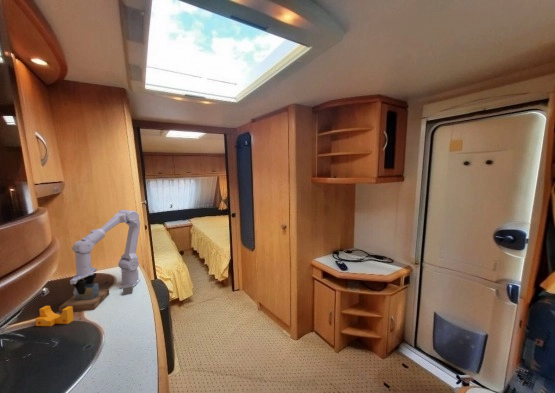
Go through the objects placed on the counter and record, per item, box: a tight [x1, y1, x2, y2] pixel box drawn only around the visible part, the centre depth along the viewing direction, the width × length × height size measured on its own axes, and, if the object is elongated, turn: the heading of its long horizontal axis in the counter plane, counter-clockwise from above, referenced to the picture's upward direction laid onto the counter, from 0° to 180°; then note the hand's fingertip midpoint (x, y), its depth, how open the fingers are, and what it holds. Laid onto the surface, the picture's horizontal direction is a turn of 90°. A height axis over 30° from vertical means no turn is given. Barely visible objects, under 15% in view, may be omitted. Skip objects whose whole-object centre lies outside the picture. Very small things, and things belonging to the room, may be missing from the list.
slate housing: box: [72, 282, 100, 300], centre depth 110 cm, size 4×9×6 cm, turn 96°
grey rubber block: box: [122, 284, 134, 296], centre depth 121 cm, size 4×4×4 cm
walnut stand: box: [58, 288, 110, 314], centre depth 111 cm, size 14×14×3 cm
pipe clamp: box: [35, 305, 74, 327], centre depth 96 cm, size 12×4×6 cm, turn 89°
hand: (85, 291), depth 110 cm, fingers closed on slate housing, 4 cm apart
